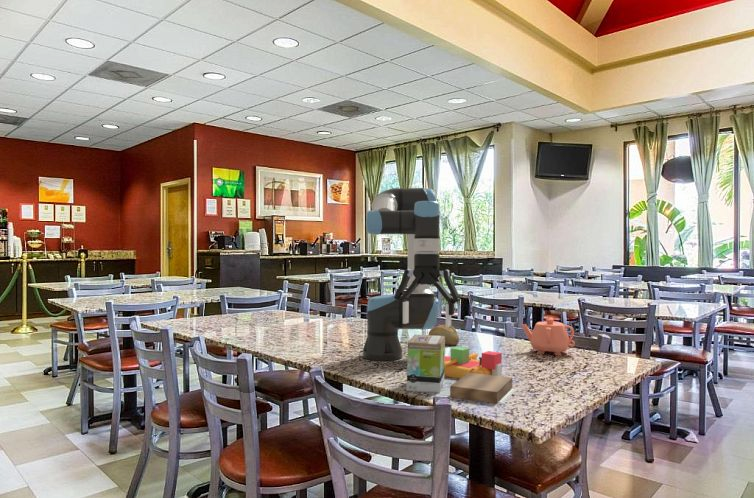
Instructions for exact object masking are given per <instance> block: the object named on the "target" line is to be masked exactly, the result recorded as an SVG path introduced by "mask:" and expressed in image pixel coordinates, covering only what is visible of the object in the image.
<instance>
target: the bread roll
mask: <svg viewBox="0 0 754 498" xmlns="http://www.w3.org/2000/svg"><path fill="white" fill-rule="evenodd" d="M427 335H433V336H445V345H446V346H451V347H452V346H454V347H456V345H458V344H459V341H460V336H459V334H458V331H457V329H456V328H455V327H454V326H452V325H451V326H449V327H446V324H439V325H437V326H436V325H435V326H434V327H433V328H432V329H429V332H428V334H427Z"/></svg>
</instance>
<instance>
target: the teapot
mask: <svg viewBox="0 0 754 498" xmlns="http://www.w3.org/2000/svg"><path fill="white" fill-rule="evenodd" d="M521 327H522V329H523V331H524V333H525V335H526V337H527V339H528V341H529V343H530V345H531V347H532V349H533V350H534V351H535V350H536V351H537V352H536V355H544V354H545V352H552V353H553V354H554V356H557V357H560V356H562V353H564V352H566V351H567V350H568V349H569V347H571V348H572V347H575V343H576V342H575V341H574V340H572V339H573V337H574V334H575V328H574V327H572V326H570V325H568V324H567V325H566V324H564V322H563V323H562V322H555V319H554V317H552V316H551V317H549V318H545V321H538V322H536V323H535V325H534V327H533V330H532V331H531V330H530V328H529V326H528V325H527V324H526V323H523V324H521ZM567 329H570V330H571V333H570V336H569V333H568V331H567ZM560 352H562V353H560Z"/></svg>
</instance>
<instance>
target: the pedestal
mask: <svg viewBox="0 0 754 498" xmlns="http://www.w3.org/2000/svg"><path fill="white" fill-rule="evenodd" d="M449 387H450V396H449V397H450V398H457V399H463V400H471V401H479V402H483V403H491V404H499V403H498V402H499V401H500V400H501V399H502V398H503V397H504V396H505V395H506V394H507V393H508V392H509V391H510V390H511V388H513V377H511V376H510V377H509V376H503V375H502V376H493V375H485V374H476V373H468V374H467V375H465V376H464V377H462V378H461V379H458V380H457V381H455V382H453V384H451V385H449Z"/></svg>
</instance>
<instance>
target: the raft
mask: <svg viewBox="0 0 754 498" xmlns="http://www.w3.org/2000/svg"><path fill="white" fill-rule="evenodd" d="M478 356H479V354H478V353H477V352H475V353H474V352H473V353H471V354H470V348H469V347H462V346H454V347H451V348H450V356H449V355H445V370H444V377H449V378H454V379H458V380H459V379H461V378H462V377H464V376H465V375H467V374H468V373H476V374H485V375H493V376H502V377H503V375H502V374H503V372H502V371H503V369H502V368H503V365H502V361H503V360H502V356H503V355H502V352H498V351H490V350H489V351H484V352H482V353H481V356H479V358H478ZM477 358H478V359H479V360H478V359H477Z"/></svg>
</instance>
